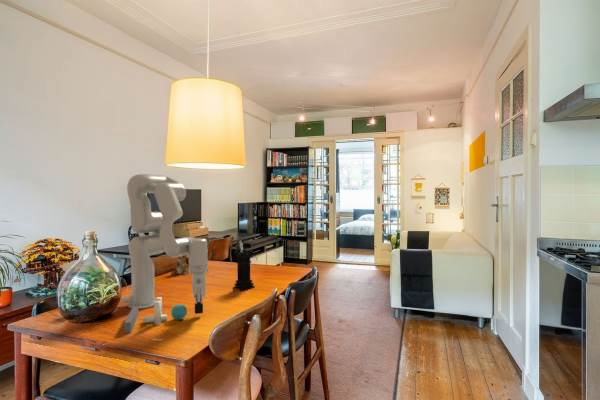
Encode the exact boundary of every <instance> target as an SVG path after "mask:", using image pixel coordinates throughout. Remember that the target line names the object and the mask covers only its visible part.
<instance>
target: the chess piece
mask: <svg viewBox="0 0 600 400" xmlns="http://www.w3.org/2000/svg"><path fill="white" fill-rule="evenodd" d="M253 253H254V250H249V251H248V252H247V249H242V250H241V251H240V252H239V250H234V251H233V254H234V258H236V260H237V261H236V262H235V263H236V264H237V280H235V283H234V284H233V285H234V286H233V289H235V290H239V291H248V290H251V289H254V288H255V285H254V282H253V280H252V279H251V263H252V261H251V258H252V257H253Z"/></svg>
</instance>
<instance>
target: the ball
mask: <svg viewBox="0 0 600 400" xmlns="http://www.w3.org/2000/svg"><path fill="white" fill-rule="evenodd" d="M187 313H188V309H187V307H186V306H185V305H184V304H181V303H179V304H178V303H177V304H176V305H174V306H173V307H172V308H171V310H170V314H171V317H172V318H173V319H174V320H177V321H179V320H183V319H184V318H185V317H186V316H187Z"/></svg>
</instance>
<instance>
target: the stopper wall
mask: <svg viewBox="0 0 600 400" xmlns="http://www.w3.org/2000/svg"><path fill="white" fill-rule="evenodd" d="M138 318H139V309H138V306H137V307H133V308H131V309H130V312H129V313H128V315H127V318H126V319H125V321H124V322H123V323H124V334H125V333H127V334H131V333H132V331H133V329H134V327H135V324H136V322H137V320H138Z"/></svg>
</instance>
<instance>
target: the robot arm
mask: <svg viewBox="0 0 600 400" xmlns="http://www.w3.org/2000/svg"><path fill="white" fill-rule="evenodd" d="M126 188H127V194H128V200H129V205H130V225H131V229H132V231H133V232H134V233H136V234H144V233H151V234H147V235H140V236H135V237H134V238H132V239H131V240H130V241H129V243H128V247H127V248H128V252H129V253H128V254H129V258H130V267H131V268H130V269H131V270H130V271H131V273H130V274H131V277H130V278H131V295H130V296H127V297H126V296H125V297H124V296H122V297H121V298H120V302H122V303H127V304H128V305H127V307H128V308H129V309H132V308H133V307H137V306H138V310H140V309H148V308H151V307H154V302H155V298H156V297H155V292H156V291H155V264H154V261H153V259H151V257H150V256H155V255H159V254H162V253H163V254H164V253H165V254H166V255H167V256H168V257H170V258H178V257H179V256H184V255H188V257H189V273H188V274H189V275H191V284H192V285H191V286H192V287H191V288H192V289H191V290H192V297H193V299H194V301H195V302H194V314H195V315H197V314H203V313H204V302H203V298H206V297H207V281H206V279H207V278H206V273H208V272H209V271H208V270H209V269H208V268H209V265H208V264H209V262H208V258H209V257H208V254H209V253H208V240H207V239H206V238H203V237H202V238H201V237H200V238H196V237H193V236H185V237H179V238H175V236H174V233H173V225H174V222H175V221H177V220H179V219H181V218H182V216H183V214H184V212H183V209H182V206H181V203H180V202H182V201H184V200H185V199H186V196H187V190H186V187H185V186H184V185H183V184H182V183H181V182H178V181H177V180H174V179H173V178H171V177H168V176H167V175H161V174H146V173H140V174H135V175H133V176H131V178H130V179H129V180H128V182H127V185H126ZM146 194H153V195H154V198H155V200H156V204H157V206H158V209H159V211H152V204H151V203H152V202H151V200H150V199H149V197H148V195H146Z"/></svg>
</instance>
